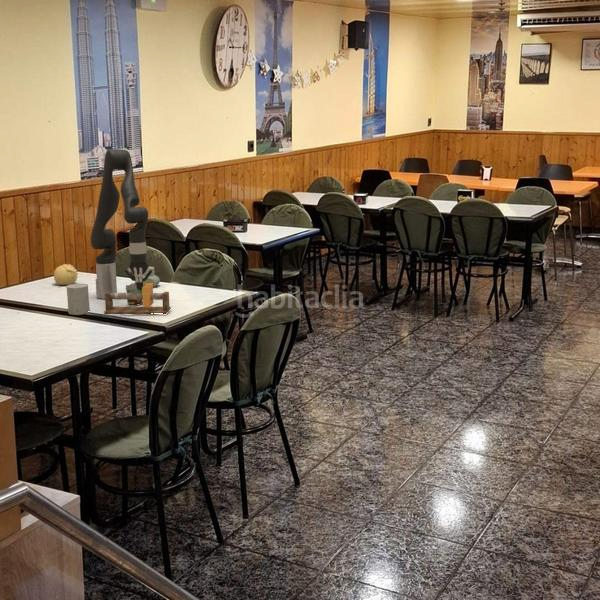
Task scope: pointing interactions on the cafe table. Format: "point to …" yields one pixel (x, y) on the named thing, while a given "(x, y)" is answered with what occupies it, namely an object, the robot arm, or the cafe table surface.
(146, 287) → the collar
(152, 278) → the air freshener
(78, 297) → the gray cylinder
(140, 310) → the rod stand
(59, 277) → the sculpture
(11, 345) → the cafe table surface
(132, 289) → the food container
